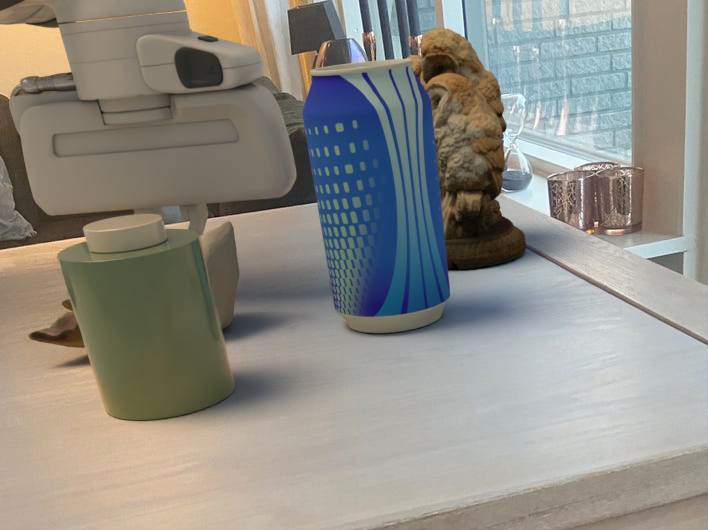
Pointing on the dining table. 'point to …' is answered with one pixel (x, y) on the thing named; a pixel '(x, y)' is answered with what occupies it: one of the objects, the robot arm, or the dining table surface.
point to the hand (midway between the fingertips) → (184, 266)
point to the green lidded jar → (147, 317)
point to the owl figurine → (467, 151)
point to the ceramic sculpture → (222, 278)
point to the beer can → (378, 194)
